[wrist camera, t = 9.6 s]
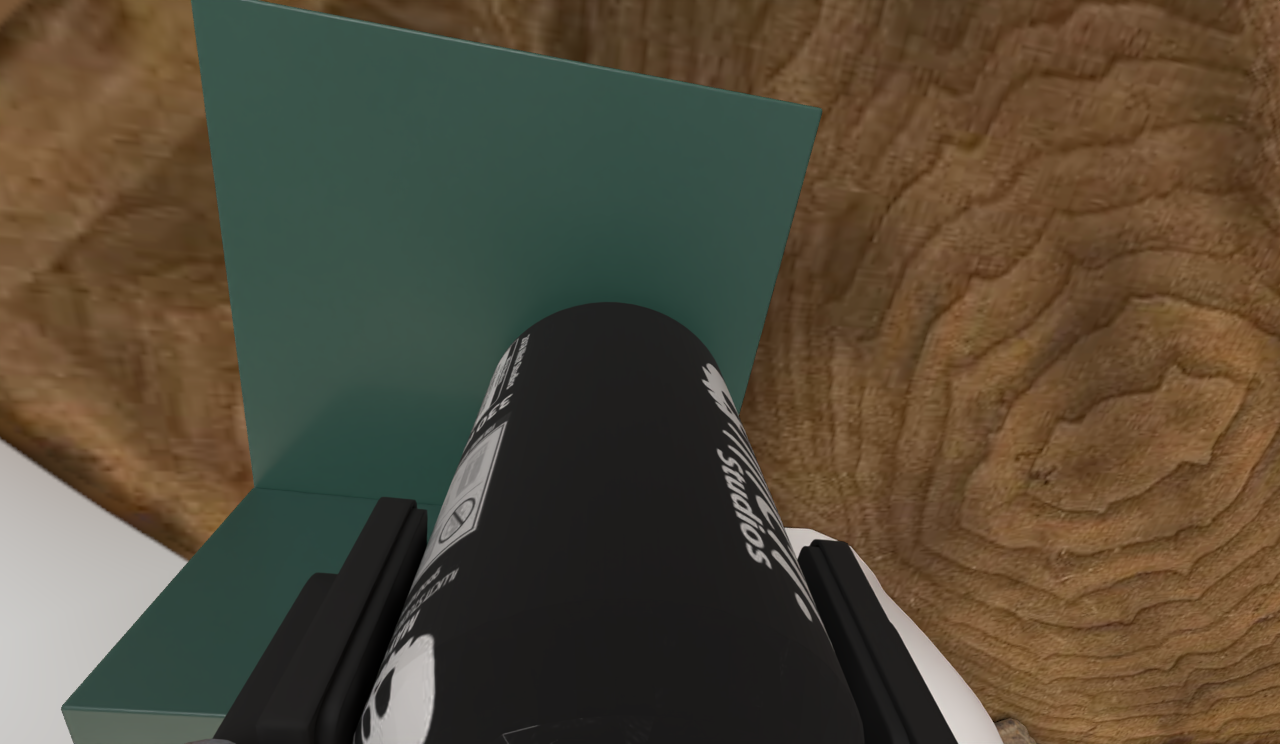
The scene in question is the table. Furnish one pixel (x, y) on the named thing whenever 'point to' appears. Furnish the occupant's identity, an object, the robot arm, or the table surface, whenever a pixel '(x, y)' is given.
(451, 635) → the beverage can
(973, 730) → the vase
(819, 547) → the robot arm
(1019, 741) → the pottery shard
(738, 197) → the green l-shaped bookend
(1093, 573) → the table surface
